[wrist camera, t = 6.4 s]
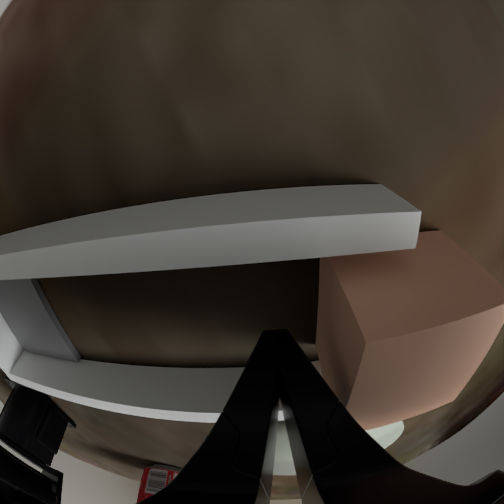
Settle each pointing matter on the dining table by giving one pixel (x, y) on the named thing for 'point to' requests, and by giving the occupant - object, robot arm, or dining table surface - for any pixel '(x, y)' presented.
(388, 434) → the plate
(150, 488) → the soda can
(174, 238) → the channel
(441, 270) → the block
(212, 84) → the dining table surface
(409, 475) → the robot arm
